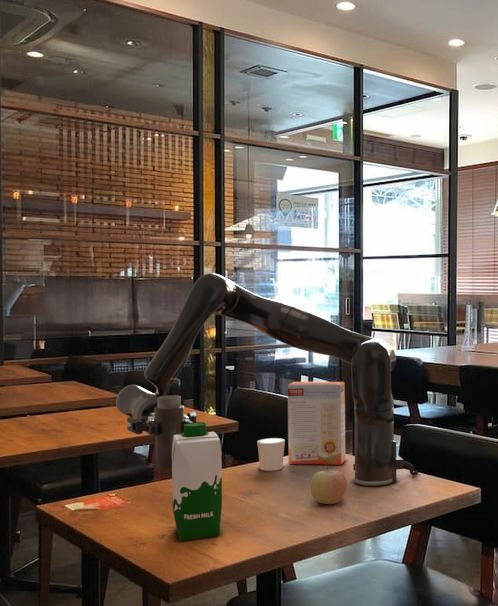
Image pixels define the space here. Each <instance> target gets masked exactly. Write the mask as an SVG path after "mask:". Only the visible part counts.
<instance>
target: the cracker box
mask: <svg viewBox="0 0 498 606" xmlns="http://www.w3.org/2000/svg"><path fill="white" fill-rule="evenodd" d="M345 390H346V389H345V382H344V381H293V382H290V383H288V384H287V433H288V434H287V437H288V438H287V440H288V441H287V443H288V445H287V446H288V464H289V465H331V466H333V465H336V466H337V465H338V466H340V465H342V464H343V463H344V462H345V461H346V398H345V397H346V395H345Z"/></svg>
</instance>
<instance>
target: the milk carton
mask: <svg viewBox="0 0 498 606" xmlns="http://www.w3.org/2000/svg"><path fill="white" fill-rule="evenodd" d="M222 455H223V453H222V445H221V439H220V437H219V435H218V434H217V433H216V432H215V431H207V423H206V422H203V421H196V422H192V423H186V424H184V434H181V435H174V437H173V444H172V469H171V497H172V498H171V499H172V500H171V501H172V512H173V517H174V518H173V519H174V522H175V527H176V528H175V529H176V532H177V536H178V539H179V542H182V541H190V540H191V541H192V540H197V539H204V538H211V537H218V536H220V531H221V520H222V508H223V472H222V471H223V470H222V468H223V465H222V464H223V463H222Z"/></svg>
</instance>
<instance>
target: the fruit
mask: <svg viewBox="0 0 498 606" xmlns="http://www.w3.org/2000/svg"><path fill="white" fill-rule="evenodd" d="M324 467H325V469H326V470H321V471H317V472H316V473H315V474H314V475H313V477H312V478H311V481H310V492H311V496H312V497H313V499H314V501H316V502H317V503H320V504H323V505H334V504H338V503H339V502H341V500H342V499H343V497H344V496H345V495H346V492H347V489H348V488H347V487H348V481H347V477H346V475H345V474H344V473H343V472H341V471H340V470H329V469H328V466H327V465H325V466H324Z"/></svg>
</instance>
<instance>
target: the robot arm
mask: <svg viewBox="0 0 498 606" xmlns="http://www.w3.org/2000/svg"><path fill="white" fill-rule="evenodd" d="M212 315H216V316H217V315H218V316H222V317H227V318H229V319H233V320H236V321H240V322H243V323H245V324H248V325H250V326H252V327H254V328H255V329H257V330H258V331H260V332H262V333H263V334H265V335H266V336H268V337H270V338H272V339H274V340H276V341H278V342H280V343H282V344H285V345H287V346H290V347H292V348H294V349H298V350H301V351H305V352H310V353H314V354H318V355H323V356H329V357H333V358H335V359H339V360H341V361H344V362H346V363H347V364H349V365H350V366H351V367H350V371H351V394H352V400H353V405H354V406H353V407H354V408H353V409H354V411H353V412H354V413H353V414H354V463H353V466H352V467H353V468H352V471H354V478H353V481H354V483H355V484H357V485H361V486H365V487H379V486H386V485H390V484H392V483H393V484H394V483H397V470H404V466H405V467H407V468H409V474H410V475H411V476H413V477H414V476H418V475H419V470H415V469H414V465H413V464H411V463H410V462H408V461H404V459H403V458H402V457H401V456H400V455H397V442H396V440H395V432H394V431H395V420H394V419H395V417H394V415H395V414H394V413H395V412H394V411H395V410H394V409H395V408H394V407H395V406H394V404H395V403H394V402H395V401H394V396H393V393H392V392H393V391H392V371H393V369H394V368H395V366H396V363H397V355H396V352H395V349H394V348H393V347H392V346H391V344H390V343H388V342H387V341H385V340H383V339H380V338H376V337H372V336H368V335H364V334H361V333H358V332H356V331H351V330H350V329H347V328H344V327H342V326H341V325H338V324H336V323H334V322H332V321H330V320H329V319H326V318H324V317H321V316H320V315H318V314H315V313H313V312H312V311H308V310H306V309H303V308H301V307H299V306H296V305H293V304H290V303H287V302H284V301H281V300H275V299H271V298H267V297H264V296H260V295H258V294H255V293H254V292H251V291H249V290H247V289H245V287H244V288H243V287H242V286H240V285H238V284H236V283H235V282H233V281H232V280H230V279H229V278H226V277H224V276H222V275H220V274H217V273H211V272H210V273H205V274H203V275H201V276H200V277H198V278H197V279H196V281H195V282H194V283H193V285H192V287H191V289H190V292H189V294H188V295H187V297H186V300H185V302H184V305H183V307H182V309H181V311H180V312H179V315H178V316H177V319H176V320H175V323H174V324H173V326H172V328H171V329H170V331H169V333H168V335H167V336H166V338H165V339H164V341H163V343H162V344H161V346H160V347H159V348H158V350H157V352H156V353H155V354H154V356H153V357H152V359H151V360H150V362H149V363H148V365H147V366H146V368H145V369H144V370H143V371H144V372H143V375H144V378H145V379H146V380H147V381H148V382H149V383H150V384H152V385H153V386H154V387H155V388H156V390H155V392H151V391H149V390H147V389H146V388H143V387H141V386H140V385H137V384H128V385H126V386H124V387H123V388H122V389H121V390H120V391H119V393H118V395H116V396H117V397H116V399H115V404H116V406H115V407H116V409H117V410H118V411H119V412H120V413H122V414H124V415H125V416H128V417H127V419H126V424H127V426H126V428H127V429H126V430H127V431H129V432H131V433H134V434H136V435H141V434H143V432H145V434H147V435H150V436H153V437H155V436H158V425H157V424H156V423H155V407H157V406H158V397H160V396H168V394H169V391H170V389H171V387H172V385H173V383H174V382H175V380H176V379H177V377H178V376H179V375H180V373H181V371H182V369H184V367H185V365H186V363H187V362H188V359H189V358H190V355H191V353H192V350H193V348H194V345H195V341H196V339H197V337H198V335H199V334H200V331H201V329H202V328H203V327H204V325H205V323H206V322H207V321H208V320H209V318H210V317H211V316H212ZM197 417H198V416H197V414H196V411H193V410H191V411H188V412H186V414H185V415H184V424H186V423H192V422H197Z"/></svg>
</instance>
